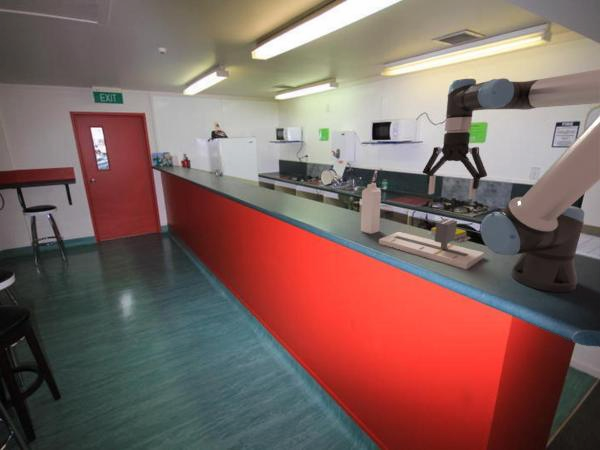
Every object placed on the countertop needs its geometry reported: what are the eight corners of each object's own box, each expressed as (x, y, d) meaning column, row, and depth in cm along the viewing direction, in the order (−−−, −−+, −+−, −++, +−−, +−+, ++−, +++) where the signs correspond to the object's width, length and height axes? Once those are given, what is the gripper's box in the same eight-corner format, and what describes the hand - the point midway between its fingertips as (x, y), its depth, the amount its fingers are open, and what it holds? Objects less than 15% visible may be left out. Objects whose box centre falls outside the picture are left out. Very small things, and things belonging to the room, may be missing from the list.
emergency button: (440, 221, 138) (473, 229, 126) (439, 230, 139) (471, 239, 127) (427, 224, 133) (460, 233, 121) (426, 234, 135) (458, 243, 122)
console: (483, 257, 107) (484, 251, 106) (466, 269, 98) (467, 262, 97) (398, 236, 132) (398, 231, 131) (379, 243, 123) (379, 238, 123)
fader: (453, 247, 110) (457, 220, 108) (444, 252, 106) (447, 224, 103) (443, 244, 113) (445, 218, 111) (433, 249, 109) (436, 222, 106)
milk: (379, 231, 139) (382, 183, 133) (370, 234, 135) (373, 185, 129) (368, 228, 144) (370, 182, 137) (360, 231, 140) (362, 183, 134)
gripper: (505, 130, 91) (494, 199, 97) (426, 133, 110) (421, 190, 116) (495, 130, 87) (485, 202, 93) (415, 133, 105) (411, 193, 111)
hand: (450, 196), depth 104 cm, fingers open, 13 cm apart
